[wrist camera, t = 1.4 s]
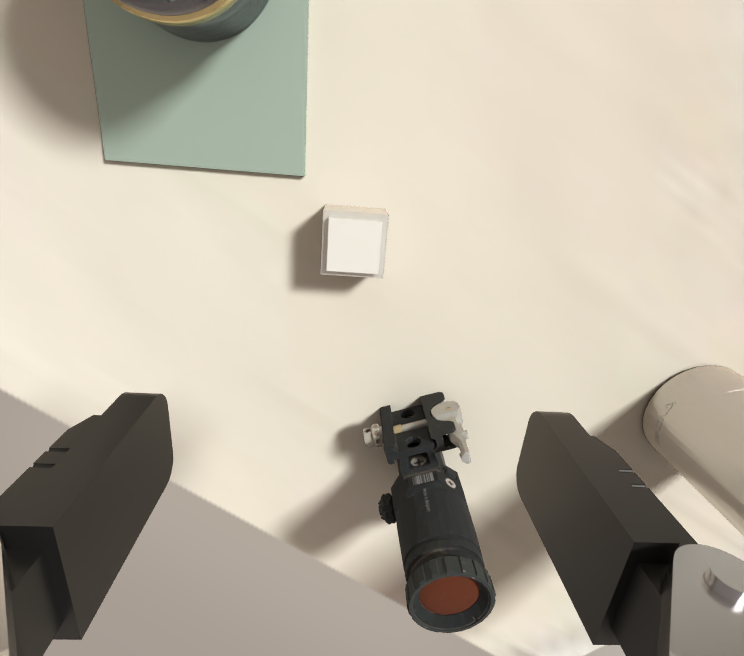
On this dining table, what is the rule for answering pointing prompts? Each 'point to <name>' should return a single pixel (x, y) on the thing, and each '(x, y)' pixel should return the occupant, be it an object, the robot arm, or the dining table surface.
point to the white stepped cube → (354, 241)
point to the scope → (433, 516)
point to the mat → (202, 91)
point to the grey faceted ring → (197, 16)
